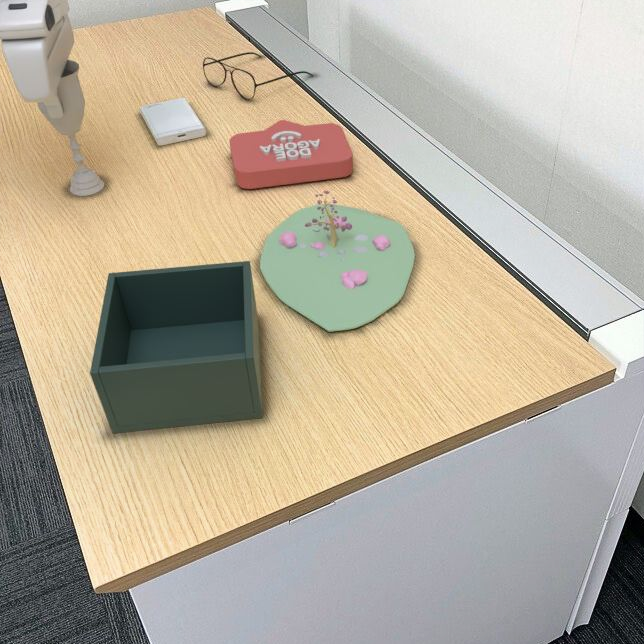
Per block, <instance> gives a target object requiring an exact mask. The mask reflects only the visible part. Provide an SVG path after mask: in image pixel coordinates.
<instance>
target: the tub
mask: <svg viewBox="0 0 644 644" xmlns="http://www.w3.org/2000/svg"><path fill="white" fill-rule="evenodd" d="M260 348H261V347H260V329H259V316H258V308H257V301H256V293H255V287H254V280H253V273H252V264H251V261H250V260H244V261H243V260H242V261H232V262H220V263H210V264H209V263H208V264H198V265H186V266H175V267H164V268H152V269H140V270H129V271H118V272H109V273H108V275H107V280H106V285H105V289H104V296H103V301H102V307H101V312H100V317H99V323H98V329H97V334H96V339H95V344H94V350H93V354H92V360H91V365H90V372H89V374H90V377H91V381H92V382H93V385H94V388H95V390H96V393H97V396H98V398H99V401H100V403H101V406H102V409H103V411H104V414H105V417H106V419H107V422H108V425H109V428H110V430H111V433H112V434H120V433H130V432H139V431H141V432H142V431H150V430H158V429H169V428H177V427H178V428H179V427H186V426H187V427H189V426H197V425H207V424H217V423H226V422H237V421H246V420H256V419H263V418H264V412H263V411H264V410H263V390H262V389H263V388H262V368H261V349H260Z"/></svg>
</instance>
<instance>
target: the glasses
mask: <svg viewBox="0 0 644 644" xmlns="http://www.w3.org/2000/svg"><path fill="white" fill-rule="evenodd" d="M245 55H254V56H256V57H259V58H262V55H260V54H258V53H256V52H254V51H253V52H252V51H248V52H242V53H238V54H233V55H231V56H227V57H224V58H220V59H216V58H213V57H205V58H204V59H203V61H202V70H203V75H204V77H205V79H206V81H207V82H208V84H209V85H210V86H212V87H215V88H217V87H220V86H222V85H224V84H225V82H226V80H227V76H228V75H227V74H228V72H229V73H230V79H231V80H230V81H231V83H232V86H233V88H234V90H235V91H236V93H237V94H238V95H239V96H240V97H241V98H242V99H244V100H245V101H251V100H252V99H254V97H255V95H256V91H257V87H260V86H263V85H266V84H270V83H273V82H276V81H279V80H282V79H286V78H289V77H291V76H295V75H300V74H306V75H309V76H312V77H314V75H313V74H312V73H311V72H308V71H306V70H301V71H296V72H292V73H288V74H285V75H282V76H279V77H276V78H273V79H269V80H267V81H264V82H260V83H256V79H255V77H254V75H253V74H252V73H251V72H249V71H248V70H244V69H242V68H238V67H234V66H231V65H228V64H226V63H224V62H223V61H227V60H230V59H233V58H238V57H241V56H242V57H243V56H245ZM207 59H208V60H212V61H210V62H206V60H207ZM205 62H206V63H205ZM217 63H218V64H219V65H220V66H221V67H222V68H223V71H224V77H223V81H222V82H221V83H220V84H218V85H215V84H213V83H212V82H210V80H209V79H208V77H207V75H206V71H205V67H206V66H209V65H213V64H217ZM226 67H228V68H231V69H232V70H231V69H226ZM235 71H241V72H243V73H245V74H247V75H248V76H250V77H251V79H252V81H253V85H254V86H253V95H252V97H251V98H246V97H244V95H243V94H241V92H240V91H239V89H238V88H237V86H236V83H235V80H234V75H233V73H234V72H235Z"/></svg>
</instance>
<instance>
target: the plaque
mask: <svg viewBox="0 0 644 644" xmlns="http://www.w3.org/2000/svg"><path fill="white" fill-rule="evenodd" d="M228 142H229V148H230V156H231V161H232V165H233V170H234V177H235V180H236V181H235V182H236V185H237V186H238V187H240V188H242V189H247V190H253V189H260V188H261V189H262V188H269V187H276V186H284V185H292V184H301V183H309V182H316V181H322V180H332V179H339V178H346V177H348V176H350V175H352V173H353V171H354V155H353V154H354V153H353V151H352V148H351V146H350V143H349V141H348V139H347V136H346V134H345V132H344V129H343V127H342V126H340V125H339V124H337V123H333V122H329V123H318V124H307V125H304V124H300V123H297V122H293V121H289V120H286V119H280V120H278V121H276V122H274V123H273V124H272V125H270V126H268V127H267V128H265V129H264V130H255V131H248V132H240V133H236V134H234V135H232V136H231V137H230V138H229V141H228Z"/></svg>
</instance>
